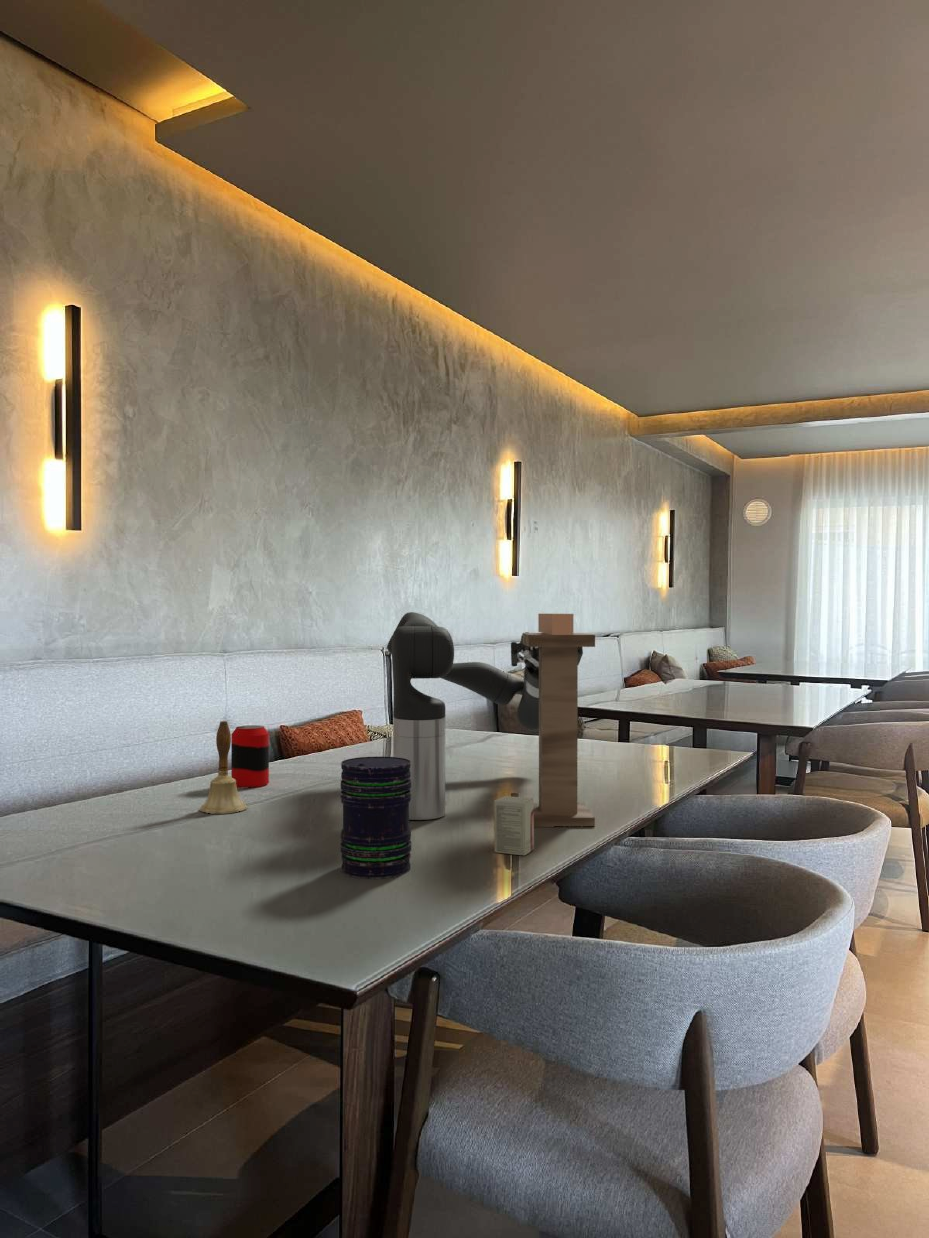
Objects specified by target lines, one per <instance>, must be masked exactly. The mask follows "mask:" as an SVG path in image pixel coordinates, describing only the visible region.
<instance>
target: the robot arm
mask: <svg viewBox="0 0 929 1238" xmlns="http://www.w3.org/2000/svg"><path fill="white" fill-rule="evenodd" d="M524 633H530V632H529V631H528V632H527V631H525V632H524ZM386 648H387V651H388V652H389V653H390V654H391V664H392V665H391V666H392V683H393V684H392V686H393V687H392V688H393V702H392V703H393V705H392V711H393V712H392V717H393V718H392V722H393V725H392V732H393V733H392V757H398V758H404V759H408V760H410V761H411V767H410V772H411V777H410V779H411V789H410V790H411V801H410V802H409V821H411V820H414V821H422V820H425V821H427V820H434V819H439V818H442V817H444V816H446V805H447V804H446V803H447V801H446V704H445V702H444V700H441V699H440V698H436V697H433V696H431V695H427V694H426V693H423V692H422V691H420V690H418V689H416V687H414V686H413V685H412V683H411V682H412V681H411V680H412V679H416V680H417V679H421V680H422V679H442V680H445V681H448V682H450V683H452V684H455V685H458V686H460V687H462V688H465V689H467V690H470V691H471V692H474V693H476V694H477V695H479V696H481V697H483V698H485V699H487V700H489V701H491V702H492V703H495V704H496V705H499V706H501V707H505V706H507V705H508V704H510V703H511V701H512V700H513V699H514V697H515V696H516V695H520V696H521V698H520V700H519V703H518V706H517V709H516V719H517V722H518V723H519V725H520V726H521V727H523V729H525V730H527V731H532V732H535V731H539V647H528V646H526V645H524V644H522V635H521V637H520V642H518V643H517V642H516V641H512V642H510V663H511V667H517V666H518V664H521V663H524V670H523V679H522V678H518V677H515V676H513V675H511V674H509V673H507V672H505V671H502V670H501V669H499V668H497V667H495V666H494V665H491V664H489V663H486V662H480V661H478V662H477V661H468V662H457V663H455V661H454V660H455V646H454V641H453V637H452V634H451V633H450V631H449V630H448V629H447V628H446V627H444V626H440V625H439V626H438V625H437V623H435V622H434V620H432V619H431V618H429V617H428V616H426V615H424V614H422V613H419V612H413V611H412V612H411V611H409V612H406V613H404V615H403V616H402V617H401V619H399V622H398V624H397V626H396V628H395V629H394V631H393V633H392V635H391V637H390V639H389V641H388V643H387V645H386ZM583 648H584V647H578V666H579V664H580V662H581V660H582V657H583V655H584V652H583V651H584V650H583ZM521 654H522V655H521Z"/></svg>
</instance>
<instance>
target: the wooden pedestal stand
mask: <svg viewBox="0 0 929 1238" xmlns="http://www.w3.org/2000/svg"><path fill="white" fill-rule="evenodd" d="M521 636H522V644H524V645H526V646H528V647H539V730H538V802H534V828H541V827H542V828H544V827H545V828H549V827H551V828H555V827H554V826H564V827H565V826H569V827H570V826H581V828H582V827H583V826H594V828H595V827H596V821H595V820H596V818H595V816H594V814H593V813H592V811H591V810H590V808H588V806H587V805H586V803H585V802H578V742H579V741H578V737H579V736H578V732H579V731H578V730H579V729H578V728H579V727H578V725H579V723H578V722H579V721H578V716H579V715H578V713H579V712H578V710H579V709H578V705H579V704H578V703H579V702H578V697H579V696H578V689H579V688H578V684H579V683H578V679H579V678H578V674H579V673H578V669H579V668H578V667H579V665H578V647H582V648H589V647H590V648H591V647H592V648H595V647H596V634H592V633H587V632H573V635H550V634H546V633H541V632H529V633H525V632H522V634H521ZM564 827H563V828H564ZM569 827H568V828H569Z"/></svg>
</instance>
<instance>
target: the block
mask: <svg viewBox="0 0 929 1238" xmlns="http://www.w3.org/2000/svg"><path fill="white" fill-rule="evenodd" d="M537 620H538V621H537V623H538V625H537V626H538V630H537V631H538V632H537V633H546V634H550V635H573V633H574V613H538V618H537Z"/></svg>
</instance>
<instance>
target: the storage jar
mask: <svg viewBox="0 0 929 1238" xmlns="http://www.w3.org/2000/svg"><path fill="white" fill-rule="evenodd" d="M340 764H341V765H340V767H341V768H340V769H342V771H341V773H340V774H341V777H340V779H341V780H340V790H341V791H340V802H341V804H342V829H341V831H340V840H341V841H340V853H341V856H340V857H341V861H342V863H341V866H340V867H341V873H342V874H344V875H346V876H348V877H352V878H357V879H366V880H367V879H371V880H372V879H373V880H375V879H377V880H378V879H390V878H393V877H394V878H396V877H400V876H402V875H404V874H407V873H409V872H410V870H411V869H412V868H411V864H412V863H411V862H410V861H411V860H410V859H411V857H412V856H411V852H412V841H411V839H412V829H411V828H410V820H409V802H410V801H411V790H410V789H411V779H410V777H411V772H410V767H411V761H410V760H408V759H404V758H398V757H393V756H361V757H359V756H358V757H351V758H348V759H343V760H342V761H341V763H340Z"/></svg>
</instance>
